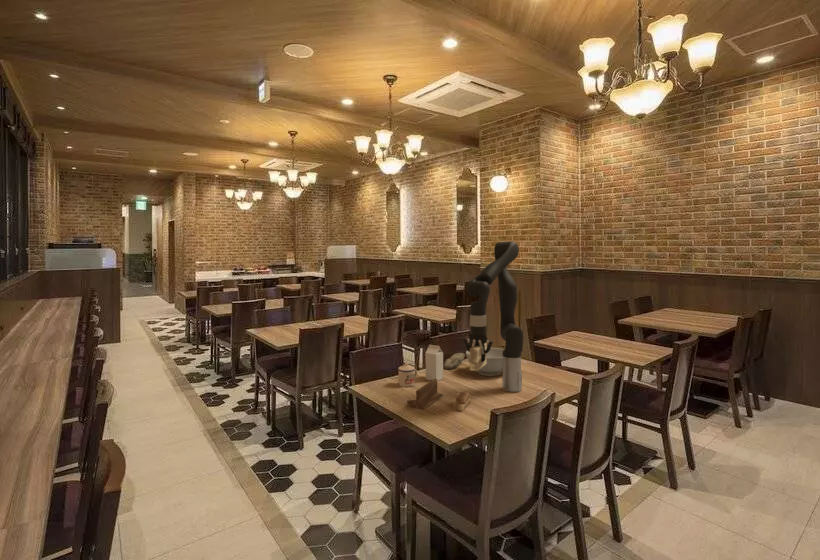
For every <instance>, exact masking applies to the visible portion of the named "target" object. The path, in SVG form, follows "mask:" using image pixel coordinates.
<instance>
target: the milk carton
mask: <svg viewBox="0 0 820 560" xmlns="http://www.w3.org/2000/svg"><path fill="white" fill-rule="evenodd" d="M424 355H425V380H428V381H431V380H433V379H437V382H438V381H440V380H443V379H444V351H443V350H442V349H441V347H440V346H439V345H433V344H428V347H427V349H426V351H425V354H424Z"/></svg>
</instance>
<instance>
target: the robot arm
mask: <svg viewBox="0 0 820 560" xmlns="http://www.w3.org/2000/svg"><path fill="white" fill-rule="evenodd" d="M519 248H520V247H519V245H518V244H517V242H515V241H499V242H497V243H496V244H495V245H494V250H493V251H494V252H493V255H494V261H491V262H490V263H489V264H487V265H486V266H485V267H484V268H483V269H482V271H481V272H480V273H479V274H478V275H476V276H475V277H474V278H472V279H471V280H470V281H469V282H468V284H467V285H466V292H467V294H468V295H469V296H471V297H478V300H477V301H476V300H475V301H473V302H471V303H470V316H469V317H470V318H469V337H468V338H464V339H463V342H464V345H465V347H466V351H468V352H470V348H471V347H473V346H480V347H481V353H482V354H481V362H484V361H485V354H486V353H488V352H489V351H490V349H491V348H492V347H493V343H494V341H493V340H490V339H488V337H487V335H488V334H487V333H488V331H487V327H488V326H487V323H488V322H487V303H488V300H489V296H490V292H491V287H490V285H492V284H493V283H494V282H495V280H496V279H497V286H498V288H497V290H498V300H499V311H500V328H499V329H500V330H499V332H500V336H501V338H502V340H504V341H505V348H503V349H504V350H503V371H502V385H501V386H502V390H503V391H505V392H509V393H510V392H511V393H515V392H516V393H517V392H518V393H519V392H521V390H522V389H523V370H522V352H523V348H524V332H523V329H522V328H521V327H520V326H519V325H516V320H515V319H516V318H515V310H516V307H517V304H518V303H517V302H518V299H519V298H518V297H519V295H518V288H517V283H516V281H515V279H514V278H513V276H512V275H511V273H510V272H509V270H508V266H509V265H510V264H512V262H513V261H515V260H516V259H517V258H518V256H519V253H520V249H519ZM470 342H471V344H472V345H471V344H470ZM485 343H487V349H486V350H485V345H484V344H485Z"/></svg>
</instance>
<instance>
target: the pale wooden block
mask: <svg viewBox="0 0 820 560" xmlns="http://www.w3.org/2000/svg"><path fill="white" fill-rule="evenodd" d="M484 345H485V350H486V349H487V346H488V344H487V342H486V343H485V344H484ZM481 354H482V353H481V347H480V346H473V347H472V346H471V348H470V363H469V371H472V372H478V370H480V369H481V368H482V367H483V366H484V365H486V364H487V353H486V354H485V361H484V362H481Z"/></svg>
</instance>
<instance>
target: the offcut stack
mask: <svg viewBox="0 0 820 560" xmlns="http://www.w3.org/2000/svg"><path fill="white" fill-rule="evenodd" d="M455 399H456V400H455V403H454V404H453V411H459V412H463V411H464V410H465V409H466V408H467V407H468V406H469V405H471V398H470V393H469V392H462V391H460V392H459V393H458V394H457V396H456V398H455Z"/></svg>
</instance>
